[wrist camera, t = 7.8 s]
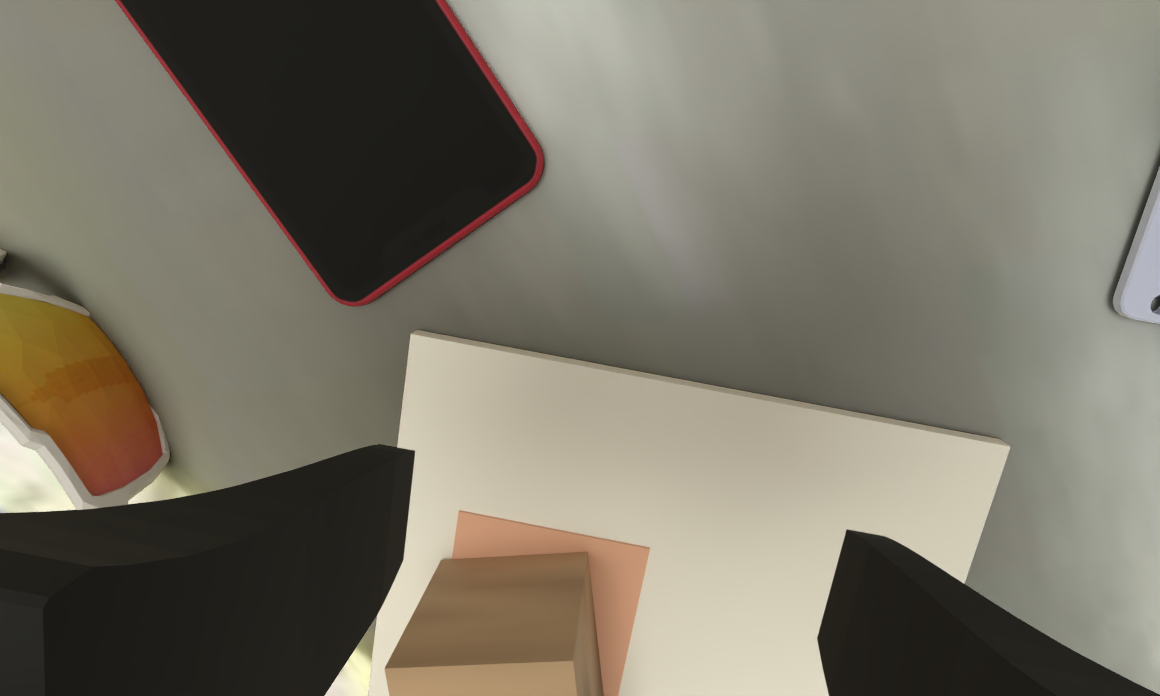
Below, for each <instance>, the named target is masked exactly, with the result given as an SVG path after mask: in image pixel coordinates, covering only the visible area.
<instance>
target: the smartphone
mask: <svg viewBox="0 0 1160 696" xmlns="http://www.w3.org/2000/svg"><path fill="white" fill-rule="evenodd" d="M115 1H116V2H117V4H118V5H119V6H120V8H121V9H122V11H123V12H124V13H125V15H126V16H127V17H128V19H129V20H130V22H131V23H132V24H133V26H134V27H135V28H136V30H137V31H138V33H139V34H140V35H141V37H142V38H143V39H144V41H145V42H146V44H147V45H148V46H149V48H150V49H151V50H152V52H153V53H154V55H155V56H156V57H157V59H158V60H159V61H160V63H161V64H162V66H163V67H164V68H165V70H166V71H167V72H168V74H169V75H170V77H171V78H172V79H173V81H174V82H175V83H176V85H177V86H178V88H179V89H180V90H181V92H182V93H183V94H184V96H185V97H186V99H187V100H188V101H189V103H190V104H191V105H192V107H193V108H194V110H195V111H196V112H197V114H198V115H199V117H200V118H201V119H202V121H203V122H204V123H205V125H206V126H207V128H208V129H209V130H210V132H211V133H212V134H213V136H214V137H215V139H216V140H217V141H218V143H219V144H220V145H221V147H222V148H223V150H224V151H225V152H226V154H227V155H228V156H229V158H230V159H231V161H232V162H233V163H234V165H235V166H236V167H237V169H238V170H239V172H240V173H241V174H242V176H243V177H244V178H245V180H246V181H247V183H248V184H249V185H250V187H251V188H252V189H253V191H254V192H255V194H256V195H257V196H258V198H259V199H260V200H261V202H262V203H263V205H264V206H265V207H266V209H267V210H268V211H269V213H270V214H271V216H272V217H273V218H274V220H275V221H276V222H277V224H278V225H279V227H280V228H281V229H282V231H283V232H284V233H285V235H286V236H287V238H288V239H289V240H290V242H291V243H292V244H293V246H294V247H295V249H296V250H297V251H298V253H299V254H300V255H301V257H302V258H303V260H304V261H305V262H306V264H307V265H308V266H309V268H310V269H311V271H312V272H313V273H314V275H315V276H316V277H317V279H318V280H319V282H320V283H321V284H322V286H323V287H324V288H325V290H326V291H327V292H328V294H329V295H330V296H331V297H332V298H333V299H335V300H336V301H338V302H339V303H341V304H344V305H347V306H362V305H365V304H368V303H370V302H372V301H373V300H375V299H376V298H378V297H379V296H381V295H382V294H383V293H385V292H386V291H388V290H389V289H391V288H392V287H393V286H395V285H396V284H398V283H399V282H401V281H402V280H403V279H405V278H406V277H408V276H409V275H411V274H412V273H413V272H415V271H416V270H418V269H419V268H420V267H422V266H423V265H425V264H426V263H428V262H429V261H430V260H432V259H433V258H435V257H436V256H438V255H439V254H440V253H442V252H443V251H445V250H446V249H448V248H449V247H450V246H452V245H453V244H455V243H456V242H458V241H459V240H460V239H462V238H463V237H465V236H466V235H468V234H469V233H470V232H472V231H473V230H475V229H476V228H477V227H479V226H480V225H482V224H483V223H485V222H486V221H487V220H489V219H490V218H492V217H493V216H495V215H496V214H497V213H499V212H500V211H502V210H503V209H505V208H506V207H507V206H509V205H510V204H512V203H513V202H515V201H516V200H517V199H519V198H520V197H522V196H523V195H524V194H526V193H527V192H529V191H530V190H531V189H532V188H533V187H535V185H536V184H537V183H538V181H539V179H540V177H541V175H542V172H543V167H544V158H543V153H542V150H541V147H540V145H539V143H538V142H537V140H536V139H535V137H534V135H533V134H532V132H531V131H530V129H529V128H528V126H527V125H526V123H525V122H524V120H523V119H522V117H521V116H520V114H519V113H518V111H517V110H516V108H515V107H514V105H513V103H512V102H511V100H510V99H509V97H508V96H507V94H506V93H505V91H504V90H503V88H502V87H501V85H500V84H499V82H498V81H497V79H496V78H495V76H494V75H493V73H492V71H491V70H490V68H489V67H488V65H487V64H486V62H485V61H484V59H483V58H482V56H481V55H480V53H479V52H478V50H477V49H476V47H475V46H474V44H473V42H472V41H471V39H470V38H469V36H468V35H467V33H466V32H465V30H464V29H463V27H462V26H461V24H460V23H459V21H458V20H457V18H456V17H455V15H454V14H453V12H452V10H451V9H450V7H449V6H448V4H447V3H446V1H445V0H115Z"/></svg>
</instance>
